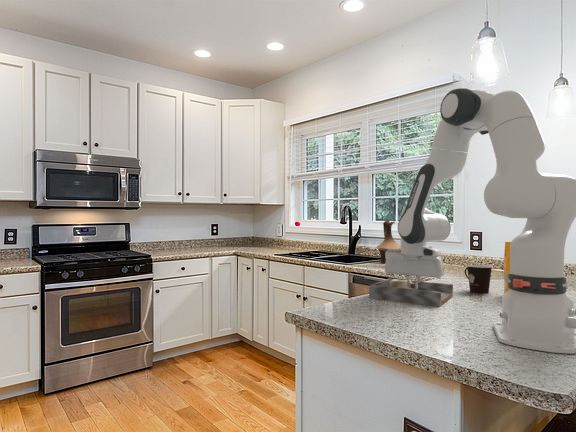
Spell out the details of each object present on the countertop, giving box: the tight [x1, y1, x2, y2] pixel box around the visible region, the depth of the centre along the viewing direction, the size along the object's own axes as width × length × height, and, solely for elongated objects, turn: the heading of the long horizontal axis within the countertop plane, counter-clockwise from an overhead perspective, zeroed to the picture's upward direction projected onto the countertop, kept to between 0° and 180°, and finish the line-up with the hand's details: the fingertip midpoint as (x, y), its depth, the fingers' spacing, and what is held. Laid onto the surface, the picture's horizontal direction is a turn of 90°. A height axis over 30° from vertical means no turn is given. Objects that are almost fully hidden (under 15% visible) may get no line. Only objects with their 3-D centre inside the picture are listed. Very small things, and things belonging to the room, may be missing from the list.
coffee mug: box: [464, 264, 493, 295], centre depth 149 cm, size 12×9×10 cm
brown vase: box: [375, 219, 401, 265], centre depth 250 cm, size 18×17×28 cm
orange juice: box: [503, 241, 512, 294], centre depth 137 cm, size 8×9×20 cm
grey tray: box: [368, 278, 454, 308], centre depth 137 cm, size 24×20×4 cm
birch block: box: [389, 278, 411, 289], centre depth 139 cm, size 6×6×4 cm
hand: (413, 288), depth 137 cm, fingers closed
